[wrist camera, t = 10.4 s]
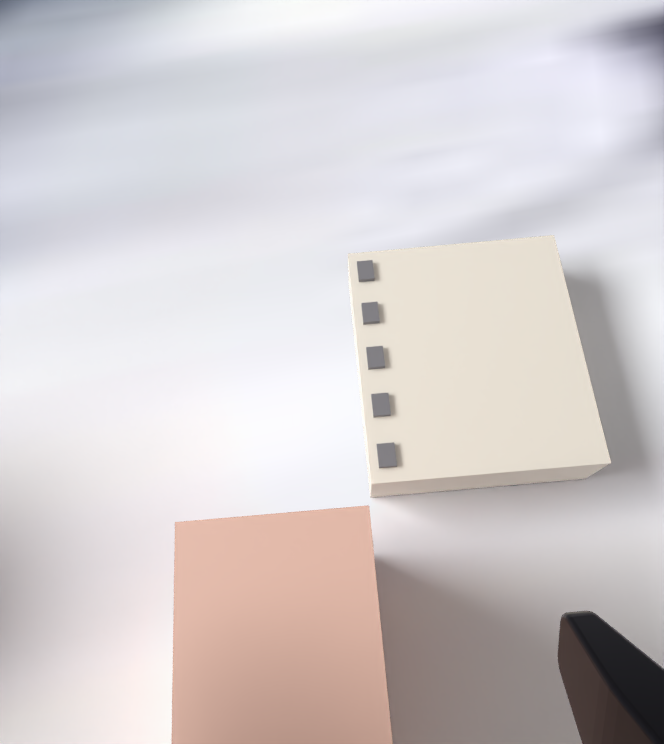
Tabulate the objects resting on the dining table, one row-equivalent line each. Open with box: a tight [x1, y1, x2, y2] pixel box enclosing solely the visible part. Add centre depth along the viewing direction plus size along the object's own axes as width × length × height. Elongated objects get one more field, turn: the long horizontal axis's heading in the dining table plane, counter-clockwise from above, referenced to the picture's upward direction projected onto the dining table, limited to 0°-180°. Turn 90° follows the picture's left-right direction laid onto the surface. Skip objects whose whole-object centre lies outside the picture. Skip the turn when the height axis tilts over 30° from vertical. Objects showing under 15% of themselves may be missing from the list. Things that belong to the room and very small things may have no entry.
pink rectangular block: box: [172, 506, 393, 744], centre depth 16 cm, size 8×4×10 cm, turn 5°
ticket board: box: [348, 235, 611, 497], centre depth 23 cm, size 9×8×3 cm
